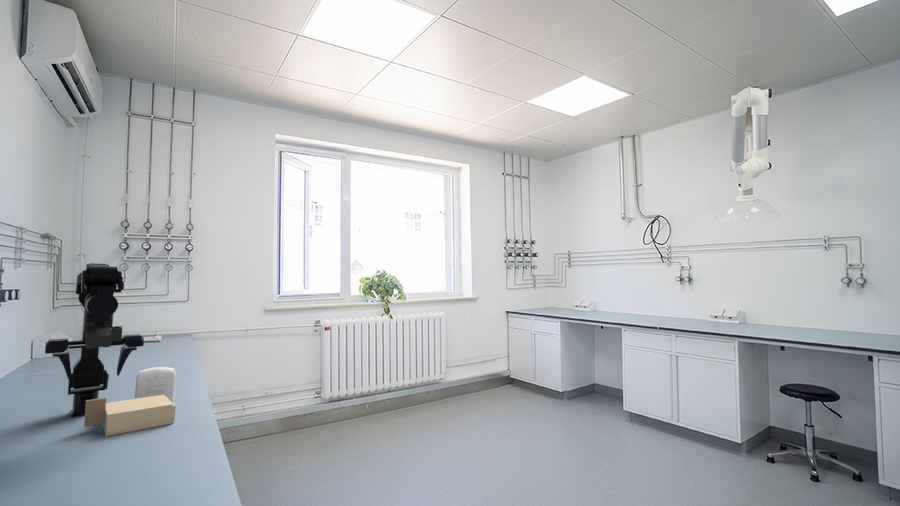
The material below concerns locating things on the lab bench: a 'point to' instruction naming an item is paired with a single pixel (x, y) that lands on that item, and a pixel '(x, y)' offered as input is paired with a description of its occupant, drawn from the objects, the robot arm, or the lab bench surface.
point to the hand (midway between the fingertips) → (94, 378)
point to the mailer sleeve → (138, 414)
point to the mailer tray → (95, 412)
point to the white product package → (156, 383)
